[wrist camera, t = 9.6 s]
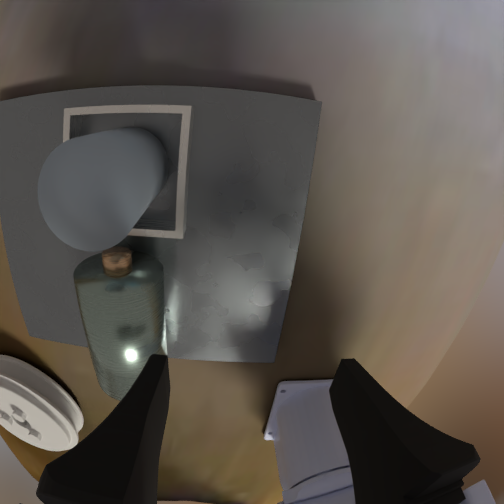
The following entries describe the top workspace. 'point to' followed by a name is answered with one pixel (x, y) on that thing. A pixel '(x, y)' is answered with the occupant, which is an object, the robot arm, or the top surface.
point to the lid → (37, 407)
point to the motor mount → (165, 226)
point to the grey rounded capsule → (101, 186)
